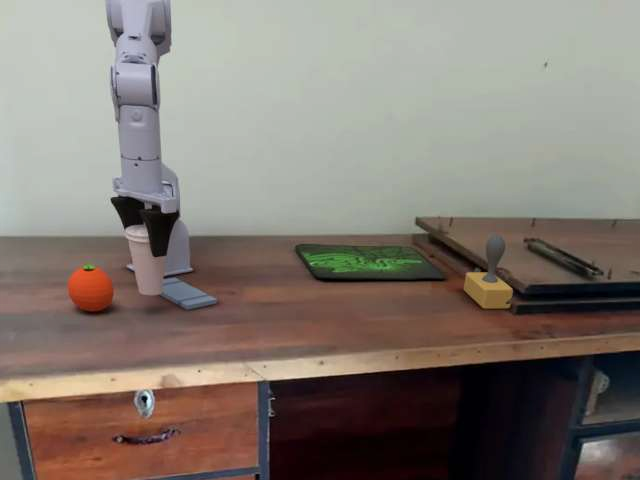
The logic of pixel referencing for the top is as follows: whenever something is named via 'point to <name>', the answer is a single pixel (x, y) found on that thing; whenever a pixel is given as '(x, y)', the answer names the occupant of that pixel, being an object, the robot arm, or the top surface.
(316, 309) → the top surface
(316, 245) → the mouse mat
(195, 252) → the top surface
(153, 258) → the smoothie
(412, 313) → the top surface
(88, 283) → the clementine
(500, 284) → the rubber stamp
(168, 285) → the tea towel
